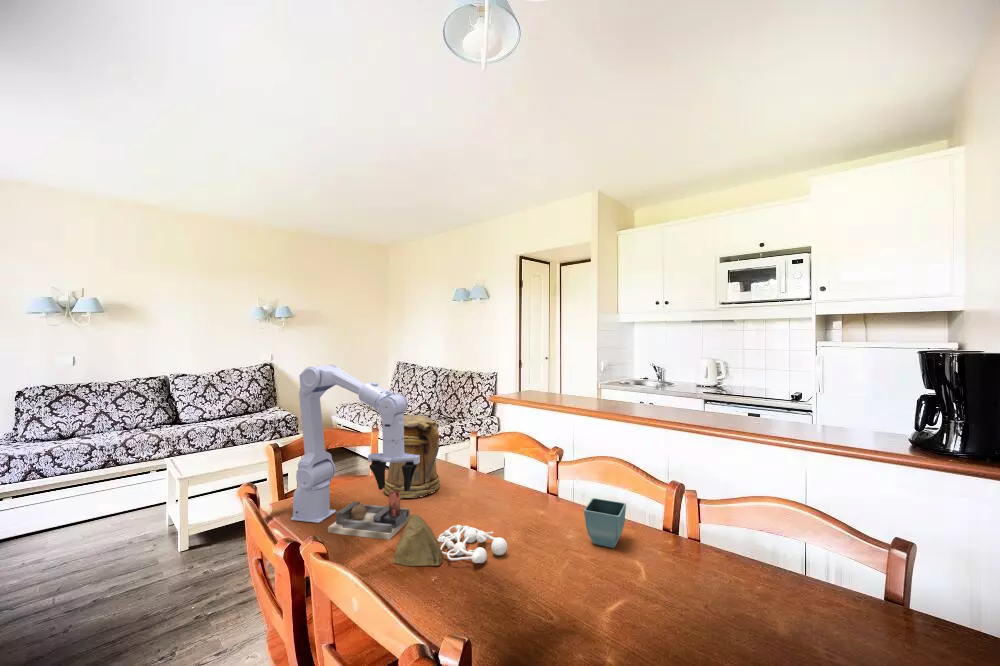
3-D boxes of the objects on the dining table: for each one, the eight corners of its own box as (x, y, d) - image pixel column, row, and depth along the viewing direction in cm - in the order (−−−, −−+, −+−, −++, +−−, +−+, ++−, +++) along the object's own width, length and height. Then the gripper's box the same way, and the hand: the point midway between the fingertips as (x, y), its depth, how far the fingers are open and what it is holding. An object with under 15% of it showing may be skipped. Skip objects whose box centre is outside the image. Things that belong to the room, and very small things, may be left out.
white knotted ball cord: (422, 547, 103) (421, 531, 103) (469, 526, 112) (468, 511, 112) (462, 580, 87) (461, 561, 87) (514, 552, 96) (512, 535, 96)
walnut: (348, 521, 111) (348, 507, 111) (356, 515, 115) (356, 501, 115) (361, 523, 110) (361, 508, 110) (369, 516, 114) (369, 502, 114)
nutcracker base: (328, 532, 108) (328, 515, 108) (354, 513, 120) (354, 498, 120) (389, 539, 104) (389, 522, 104) (410, 519, 115) (410, 503, 115)
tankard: (414, 477, 152) (414, 410, 152) (460, 490, 137) (459, 417, 138) (373, 491, 138) (373, 417, 138) (418, 508, 123) (418, 426, 124)
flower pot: (583, 546, 100) (583, 509, 100) (592, 531, 107) (592, 497, 108) (620, 554, 96) (619, 516, 96) (627, 538, 103) (626, 503, 104)
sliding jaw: (373, 527, 107) (373, 495, 107) (388, 514, 115) (388, 485, 115) (394, 529, 105) (394, 497, 106) (408, 516, 113) (408, 487, 113)
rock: (455, 549, 94) (429, 529, 101) (440, 528, 90) (414, 510, 97) (423, 592, 89) (397, 569, 95) (405, 573, 84) (380, 550, 91)
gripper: (361, 441, 108) (362, 493, 108) (411, 443, 105) (412, 496, 105) (375, 435, 115) (376, 483, 115) (422, 437, 112) (423, 486, 111)
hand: (394, 489), depth 110 cm, fingers open, 7 cm apart
